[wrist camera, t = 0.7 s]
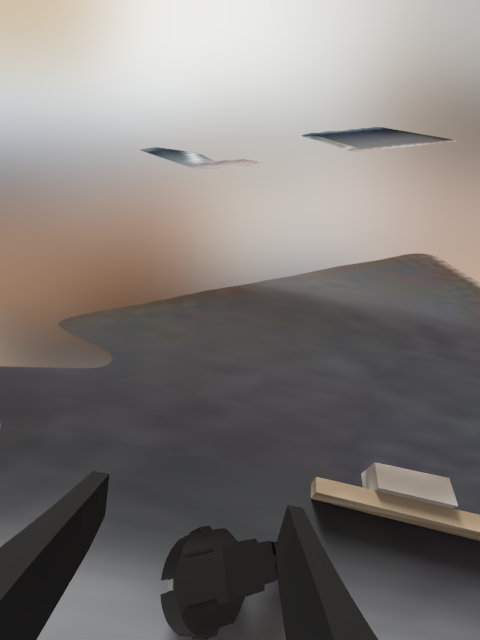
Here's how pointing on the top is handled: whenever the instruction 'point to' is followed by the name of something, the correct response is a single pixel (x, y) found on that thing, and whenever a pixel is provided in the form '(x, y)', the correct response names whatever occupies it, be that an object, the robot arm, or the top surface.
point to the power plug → (213, 579)
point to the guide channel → (402, 499)
